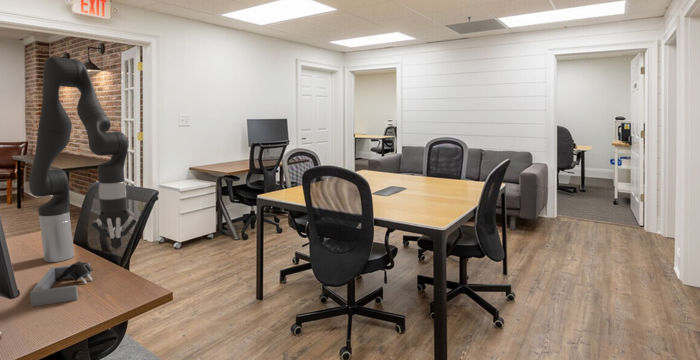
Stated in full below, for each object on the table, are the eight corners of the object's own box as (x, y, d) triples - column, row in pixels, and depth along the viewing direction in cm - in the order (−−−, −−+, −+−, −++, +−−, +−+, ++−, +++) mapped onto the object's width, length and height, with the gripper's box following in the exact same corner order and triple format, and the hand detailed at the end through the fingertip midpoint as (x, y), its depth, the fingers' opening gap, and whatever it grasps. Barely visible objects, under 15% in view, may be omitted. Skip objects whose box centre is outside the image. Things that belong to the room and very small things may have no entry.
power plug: (62, 274, 139) (87, 255, 137) (76, 293, 140) (101, 274, 137) (48, 281, 134) (73, 261, 131) (62, 300, 134) (88, 281, 132)
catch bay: (52, 279, 138) (50, 267, 137) (91, 274, 142) (89, 263, 141) (31, 306, 118) (29, 292, 118) (77, 299, 122) (75, 286, 122)
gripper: (137, 192, 138) (140, 242, 141) (91, 194, 133) (95, 246, 136) (135, 197, 131) (138, 250, 134) (86, 199, 127) (90, 254, 130)
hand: (116, 248), depth 135 cm, fingers closed
